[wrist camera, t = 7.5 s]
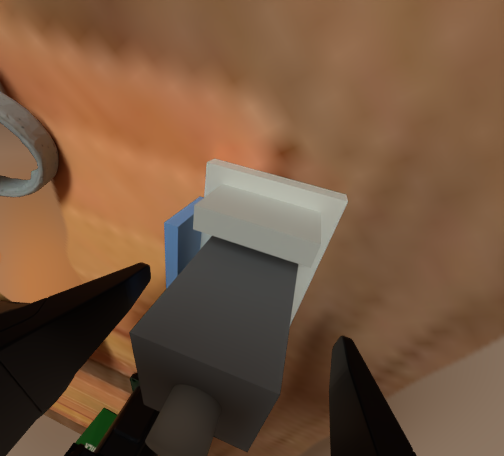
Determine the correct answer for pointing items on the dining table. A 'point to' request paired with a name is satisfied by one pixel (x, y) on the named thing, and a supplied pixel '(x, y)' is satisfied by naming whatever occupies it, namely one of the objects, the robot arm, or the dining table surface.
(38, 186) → the ceramic mug
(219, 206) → the white ridged plate
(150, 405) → the dark grey knobbed block
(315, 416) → the dining table surface
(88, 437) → the milk carton
